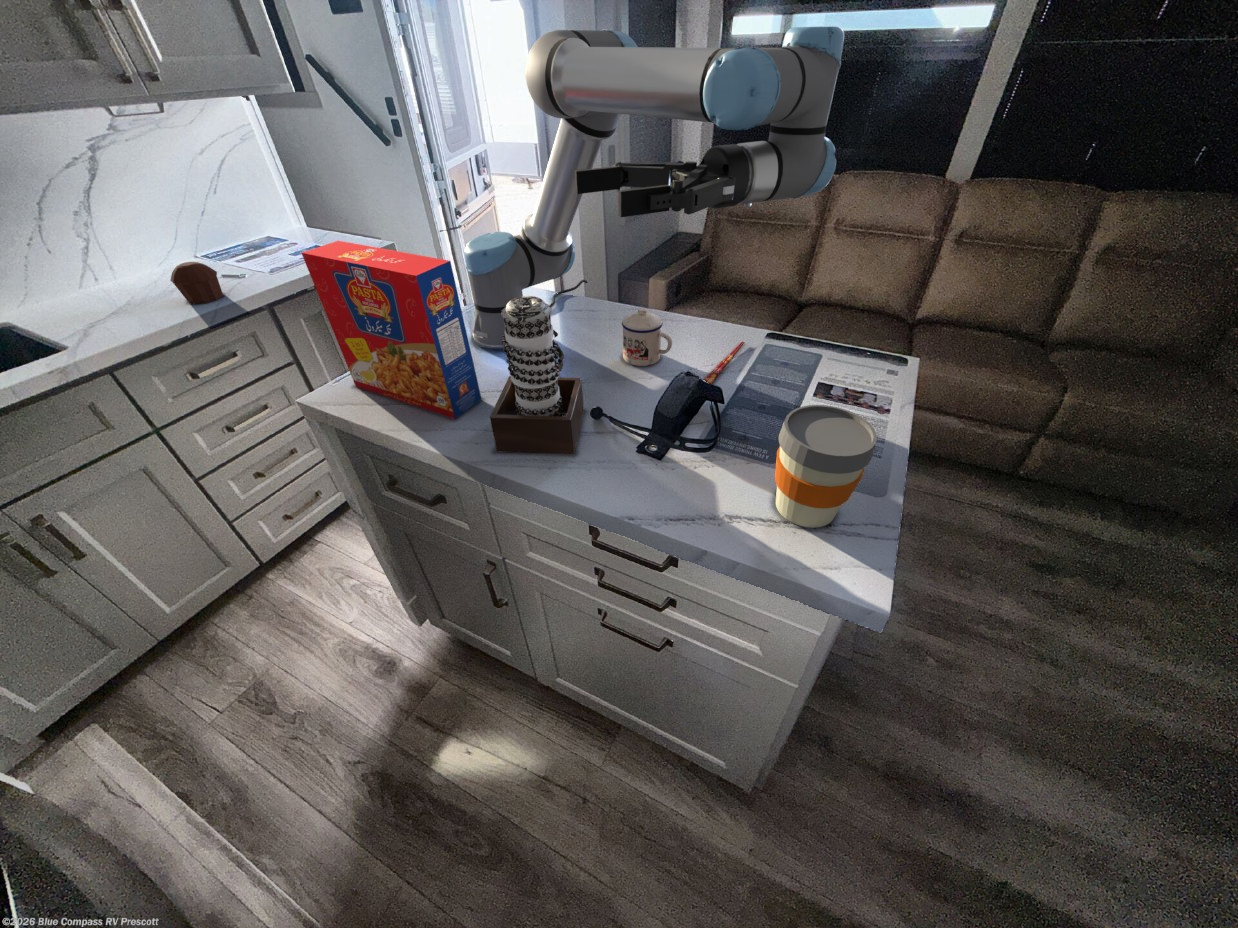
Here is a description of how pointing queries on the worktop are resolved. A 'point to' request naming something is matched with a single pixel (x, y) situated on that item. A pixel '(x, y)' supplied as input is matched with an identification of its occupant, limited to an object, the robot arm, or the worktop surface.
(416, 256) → the pasta box
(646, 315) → the teacup with lid
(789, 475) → the reusable coffee cup
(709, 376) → the chopstick
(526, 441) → the walnut box
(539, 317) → the patterned vase
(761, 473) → the worktop surface
